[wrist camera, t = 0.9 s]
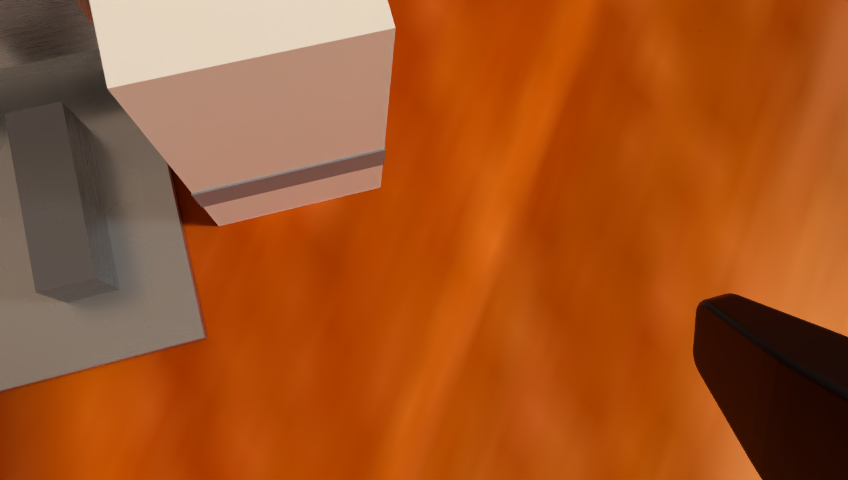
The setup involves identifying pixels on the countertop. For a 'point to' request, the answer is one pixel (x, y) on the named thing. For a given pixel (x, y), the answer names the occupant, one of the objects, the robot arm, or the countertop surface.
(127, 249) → the rail mount
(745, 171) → the countertop surface
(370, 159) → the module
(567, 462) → the countertop surface
